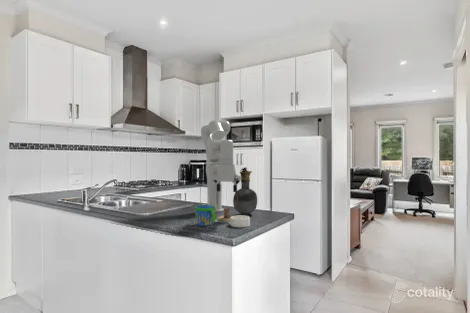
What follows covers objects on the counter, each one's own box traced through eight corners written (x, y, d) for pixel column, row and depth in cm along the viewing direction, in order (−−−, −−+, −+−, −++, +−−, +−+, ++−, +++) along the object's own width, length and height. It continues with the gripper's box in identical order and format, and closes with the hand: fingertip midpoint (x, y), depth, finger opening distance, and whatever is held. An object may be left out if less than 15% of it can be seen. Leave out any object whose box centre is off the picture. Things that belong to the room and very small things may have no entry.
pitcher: (259, 214, 183) (259, 166, 183) (242, 220, 168) (242, 168, 167) (244, 212, 190) (244, 166, 189) (227, 218, 174) (227, 167, 174)
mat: (212, 222, 163) (212, 221, 163) (220, 217, 175) (220, 216, 175) (233, 223, 160) (233, 222, 160) (239, 219, 171) (239, 218, 171)
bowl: (228, 227, 152) (228, 218, 152) (234, 222, 162) (234, 214, 161) (246, 228, 149) (246, 220, 149) (251, 224, 158) (251, 216, 158)
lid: (214, 221, 164) (213, 209, 164) (221, 216, 174) (221, 206, 174) (232, 222, 160) (232, 211, 160) (238, 218, 171) (238, 207, 171)
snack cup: (221, 226, 153) (221, 207, 153) (204, 230, 147) (204, 209, 147) (206, 221, 166) (206, 203, 166) (189, 223, 159) (189, 205, 159)
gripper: (210, 161, 166) (210, 191, 166) (239, 161, 160) (239, 192, 160) (215, 161, 173) (215, 190, 173) (243, 161, 168) (243, 191, 167)
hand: (226, 191), depth 167 cm, fingers open, 9 cm apart
